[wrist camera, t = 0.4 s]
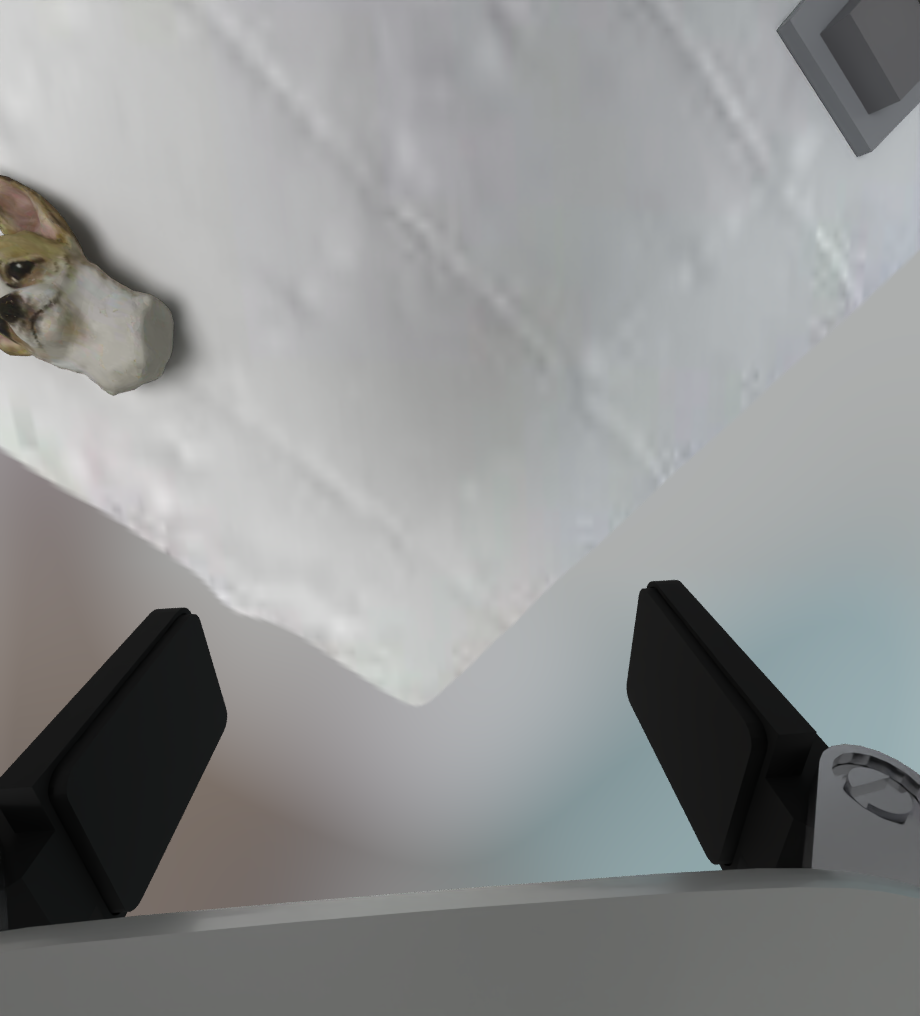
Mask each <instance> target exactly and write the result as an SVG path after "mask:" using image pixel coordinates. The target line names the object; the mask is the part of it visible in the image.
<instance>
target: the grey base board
mask: <svg viewBox="0 0 920 1016" xmlns="http://www.w3.org/2000/svg"><path fill="white" fill-rule="evenodd" d="M777 32H778V33H779V35H780V36H781V38H782V39H783V41H784V43H785V44H786V46H787V47H788V49H789V50H790V52H791V54H792V55H793V57H794V58H795V60H796V61H797V63H798V65H799V66H800V68H801V69H802V71H803V72H804V74H805V76H806V77H807V79H808V80H809V82H810V83H811V85H812V87H813V88H814V90H815V91H816V93H817V94H818V96H819V98H820V99H821V101H822V102H823V104H824V105H825V107H826V109H827V110H828V112H829V113H830V115H831V116H832V118H833V119H834V121H835V123H836V124H837V126H838V127H839V129H840V130H841V132H842V134H843V135H844V137H845V138H846V140H847V141H848V143H849V145H850V146H851V148H852V149H853V151H854V152H855V154H856V156H857V157H858V156H861V155H864V154H867V153H869V152H872V151H873V150H874V149H875V148H876V147H877V146H878V145H879V144H880V143H881V142H882V141H883V140H884V139H885V138H886V137H887V136H888V135H889V133H890V132H891V131H892V130H893V129H894V128H895V127H896V126H897V125H898V124H899V123H900V122H901V121H902V120H903V119H904V118H905V117H906V116H907V115H908V114H909V113H910V112H911V111H912V110H913V109H914V108H915V107H916V106H917V105H918V104H919V103H920V4H919V2H918V0H802V1H801V2H800V3H799V5H798V6H797V7H796V8H795V9H794V10H793V12H792V13H791V14H790V15H789V16H788V18H787V19H786V20H785V21H784V22H783V23H782V25H781V26H780V27H779V28H778V29H777Z"/></svg>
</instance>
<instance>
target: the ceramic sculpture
mask: <svg viewBox="0 0 920 1016" xmlns="http://www.w3.org/2000/svg"><path fill="white" fill-rule="evenodd" d="M0 230H1V231H2V233H3V234H4V235H2V236H0V349H1V350H2V351H4V352H5V353H7V354H9V355H12V356H31V355H33V356H35V357H36V358H38V359H41V360H43V361H46V362H48V363H50V364H52V365H55V366H57V367H59V368H61V369H67V370H71V371H74V372H77V373H81V374H85V375H86V376H88V377H89V378H90V379H91V380H92V381H93V382H95V383H96V384H98V385H99V386H100V387H101V389H103V390H105V391H106V392H107V393H109V394H111V395H113V396H114V395H117V394H118V393H123V392H127V391H131V390H135V389H136V388H138V387H139V386H141V385H142V384H144V383H148V382H151V381H153V380H156V379H158V378H159V377H161V375H162V374H163V372H164V368H165V365H166V363H167V362H168V360H169V358H170V356H171V353H172V349H173V328H174V322H173V318H172V314H171V312H170V310H169V309H168V308H167V306H166V305H165V304H164V303H163V302H162V301H161V300H159V299H158V298H156V297H154V296H153V295H151V294H147V293H142V292H138V291H133V290H131V289H129V288H128V287H126V286H124V285H122V284H120V283H119V282H117V281H116V280H114V279H112V278H110V277H109V276H108V275H107V274H106V273H105V272H104V271H102V270H101V269H100V268H99V267H98V266H97V265H96V264H93V263H91V262H89V261H88V260H87V259H86V257H85V256H84V254H83V251H82V248H81V246H80V244H79V242H78V240H77V239H76V237H75V235H74V234H73V232H72V231H71V229H70V227H69V226H68V224H67V223H66V221H65V220H64V218H63V217H62V216H61V215H60V214H59V212H58V211H57V210H56V209H55V208H54V207H53V206H52V205H51V204H50V203H49V202H48V201H47V200H46V199H44V198H43V197H42V196H41V195H39V194H38V193H37V192H35V191H34V190H32V189H30V188H29V187H27V186H25V185H23V184H21V183H19V182H18V181H15V180H13V179H11V178H9V177H7V176H2V175H0Z"/></svg>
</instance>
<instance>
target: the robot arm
mask: <svg viewBox="0 0 920 1016" xmlns="http://www.w3.org/2000/svg"><path fill="white" fill-rule="evenodd" d="M627 695H628V698H629V702H630V704H631V706H632V708H633V710H634V712H635V714H636V716H637V718H638V720H639V722H640V724H641V726H642V728H643V730H644V732H645V734H646V736H647V738H648V740H649V742H650V744H651V746H652V748H653V750H654V752H655V754H656V756H657V758H658V760H659V762H660V764H661V766H662V768H663V770H664V772H665V774H666V776H667V778H668V780H669V782H670V784H671V786H672V788H673V790H674V792H675V794H676V796H677V798H678V800H679V802H680V804H681V806H682V808H683V810H684V812H685V814H686V816H687V818H688V820H689V822H690V824H691V826H692V828H693V830H694V832H695V834H696V836H697V838H698V840H699V842H700V844H701V846H702V848H703V850H704V852H705V854H706V856H707V857H708V859H709V860H710V861H711V863H713V864H720V866H721V868H722V870H719V871H701V872H682V873H666V874H665V873H664V874H650V875H636V876H623V877H609V878H596V879H582V880H570V881H556V882H542V883H529V884H515V885H502V886H489V887H477V888H464V889H453V890H452V889H451V890H439V891H426V892H414V893H403V894H402V893H401V894H389V895H378V896H365V897H352V898H341V899H327V900H316V901H303V902H291V903H280V904H268V905H257V906H246V907H234V908H223V909H211V910H199V911H188V912H176V913H165V914H153V915H141V916H131V917H125V916H126V914H127V912H130V911H132V910H134V909H135V908H136V907H137V906H138V904H139V903H140V901H141V899H142V897H143V895H144V893H145V891H146V889H147V887H148V885H149V883H150V881H151V879H152V877H153V875H154V873H155V871H156V869H157V867H158V865H159V863H160V860H161V859H162V856H163V854H164V852H165V850H166V848H167V846H168V844H169V842H170V840H171V838H172V836H173V834H174V832H175V830H176V828H177V826H178V824H179V821H180V820H181V818H182V816H183V814H184V811H185V809H186V807H187V805H188V803H189V801H190V799H191V797H192V795H193V793H194V791H195V789H196V787H197V785H198V782H199V781H200V779H201V777H202V774H203V772H204V771H205V768H206V766H207V764H208V762H209V760H210V758H211V756H212V754H213V752H214V750H215V748H216V746H217V744H218V742H219V740H220V737H221V736H222V734H223V732H224V729H225V727H226V722H227V710H226V707H225V703H224V700H223V696H222V693H221V690H220V686H219V683H218V679H217V676H216V673H215V669H214V666H213V662H212V659H211V656H210V652H209V649H208V645H207V642H206V639H205V635H204V632H203V629H202V625H201V622H200V619H199V617H198V616H197V615H196V614H191V612H190V611H189V610H188V609H187V608H169V609H156V610H154V611H153V612H151V613H150V614H149V616H148V617H146V619H145V620H144V621H143V622H142V623H141V624H140V625H139V626H138V627H137V628H136V630H135V631H134V632H133V633H132V634H131V635H130V636H129V637H128V638H127V639H126V640H125V642H124V643H123V644H122V645H121V646H120V647H119V648H118V650H116V652H115V653H114V654H113V655H112V656H111V657H110V658H109V659H108V660H107V661H106V662H105V663H104V664H103V666H102V667H101V668H100V669H99V670H98V671H97V672H96V674H94V675H93V677H92V678H91V679H90V680H89V681H88V682H87V683H86V684H85V685H84V686H83V687H82V689H81V690H80V691H79V692H78V693H77V694H76V695H75V696H74V697H73V698H72V700H71V701H70V702H69V703H68V704H67V705H66V706H65V707H64V708H63V709H62V710H61V712H60V713H59V714H58V715H57V716H56V717H55V718H54V719H53V720H52V721H51V722H50V724H49V725H48V726H47V727H46V728H45V729H44V730H43V731H42V732H41V733H40V735H39V736H38V737H37V738H36V739H35V740H34V741H33V742H32V743H31V745H29V747H28V748H27V749H26V750H25V751H24V752H23V753H22V754H21V755H20V756H19V757H18V759H17V760H16V761H15V762H14V763H13V764H12V765H11V766H10V767H9V768H8V770H7V771H6V772H5V773H4V774H3V775H2V776H1V777H0V1016H920V775H919V774H917V772H915V771H913V770H912V769H910V768H909V767H907V766H906V765H904V764H903V763H901V762H899V761H898V760H896V759H894V758H892V757H890V756H888V755H885V754H883V753H881V752H879V751H876V750H873V749H869V748H866V747H862V746H857V745H848V744H842V745H836V746H831V747H828V746H827V745H826V744H825V743H824V742H823V740H822V739H821V738H820V737H819V736H818V735H817V734H816V731H815V730H814V729H813V728H812V727H811V726H810V725H809V723H808V722H807V721H806V720H805V719H804V718H803V717H802V716H801V714H800V713H799V712H798V711H797V710H796V709H795V708H794V707H793V706H792V704H791V703H790V702H789V701H788V700H787V699H786V698H785V697H784V696H783V695H782V693H781V692H780V691H779V690H778V689H777V688H776V687H775V686H774V685H773V684H772V682H771V681H770V680H769V679H768V678H767V677H766V676H765V675H764V673H763V672H762V671H761V670H760V669H759V668H758V667H757V666H756V665H755V664H754V662H753V661H752V660H751V659H750V658H749V657H748V656H747V655H746V654H745V652H744V651H743V650H742V649H741V648H740V647H739V646H738V645H737V644H736V643H735V642H734V640H733V639H732V638H731V637H730V636H729V635H728V634H727V633H726V631H725V630H724V629H723V628H722V627H721V626H720V625H719V624H718V623H717V621H716V620H715V619H714V618H713V617H712V616H711V615H710V614H709V613H708V612H707V610H706V609H705V608H704V607H703V606H702V605H701V604H700V603H699V602H698V601H697V599H696V598H695V597H694V596H693V595H692V594H691V593H690V592H689V591H688V589H687V588H686V587H685V586H684V585H683V584H682V583H681V582H680V581H678V580H668V581H652V582H650V583H649V584H648V586H647V588H646V589H642V590H641V591H640V593H639V599H638V606H637V613H636V621H635V627H634V635H633V642H632V649H631V657H630V664H629V671H628V678H627Z"/></svg>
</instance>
